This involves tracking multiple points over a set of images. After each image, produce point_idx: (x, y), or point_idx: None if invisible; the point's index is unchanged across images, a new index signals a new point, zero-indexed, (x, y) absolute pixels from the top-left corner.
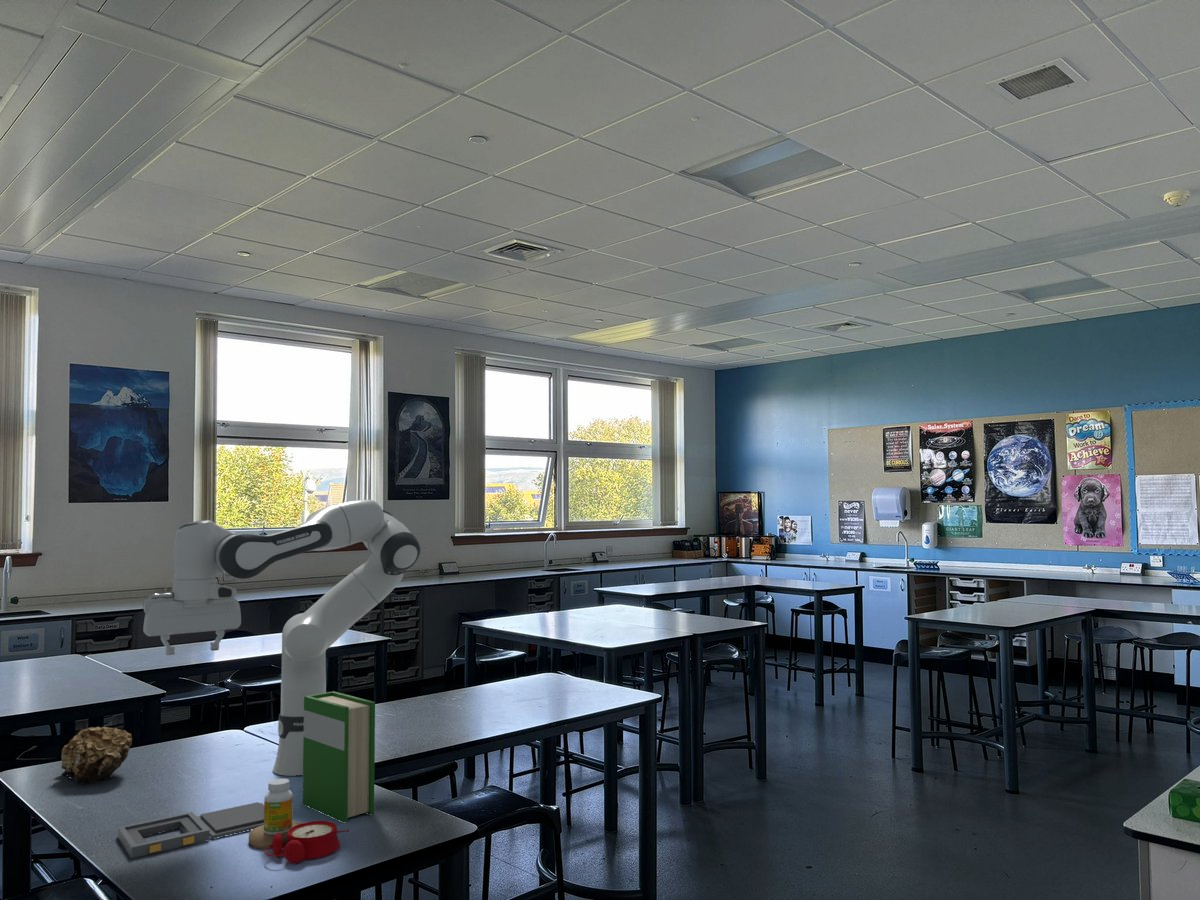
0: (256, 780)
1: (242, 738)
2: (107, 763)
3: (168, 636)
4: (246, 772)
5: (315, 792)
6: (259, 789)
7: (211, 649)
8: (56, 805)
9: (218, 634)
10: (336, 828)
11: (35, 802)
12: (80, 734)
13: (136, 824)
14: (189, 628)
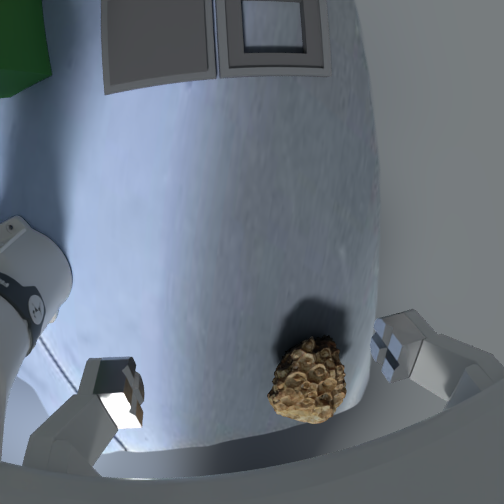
0: (95, 246)
1: None
2: (308, 341)
3: (481, 383)
4: (109, 296)
5: (33, 35)
6: (94, 193)
7: (136, 377)
8: (361, 275)
9: (69, 446)
10: None
11: (374, 299)
12: (333, 408)
13: (307, 69)
14: (382, 477)
